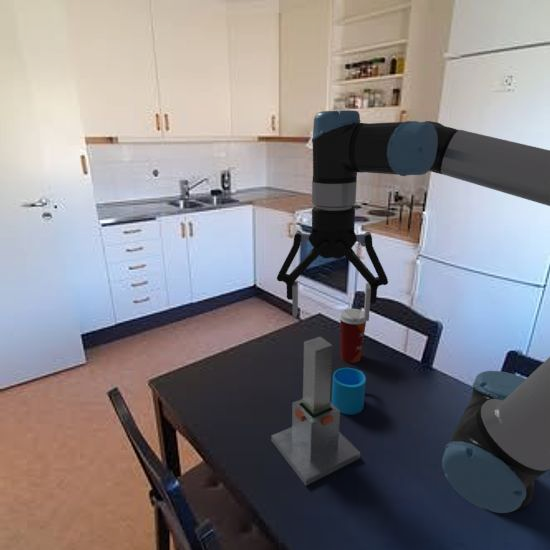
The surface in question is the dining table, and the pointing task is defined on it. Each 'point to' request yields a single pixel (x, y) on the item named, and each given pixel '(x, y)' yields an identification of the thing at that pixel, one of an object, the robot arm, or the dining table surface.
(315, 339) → the column
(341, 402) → the mug
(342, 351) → the coffee cup
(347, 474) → the dining table surface
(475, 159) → the robot arm
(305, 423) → the stand base
